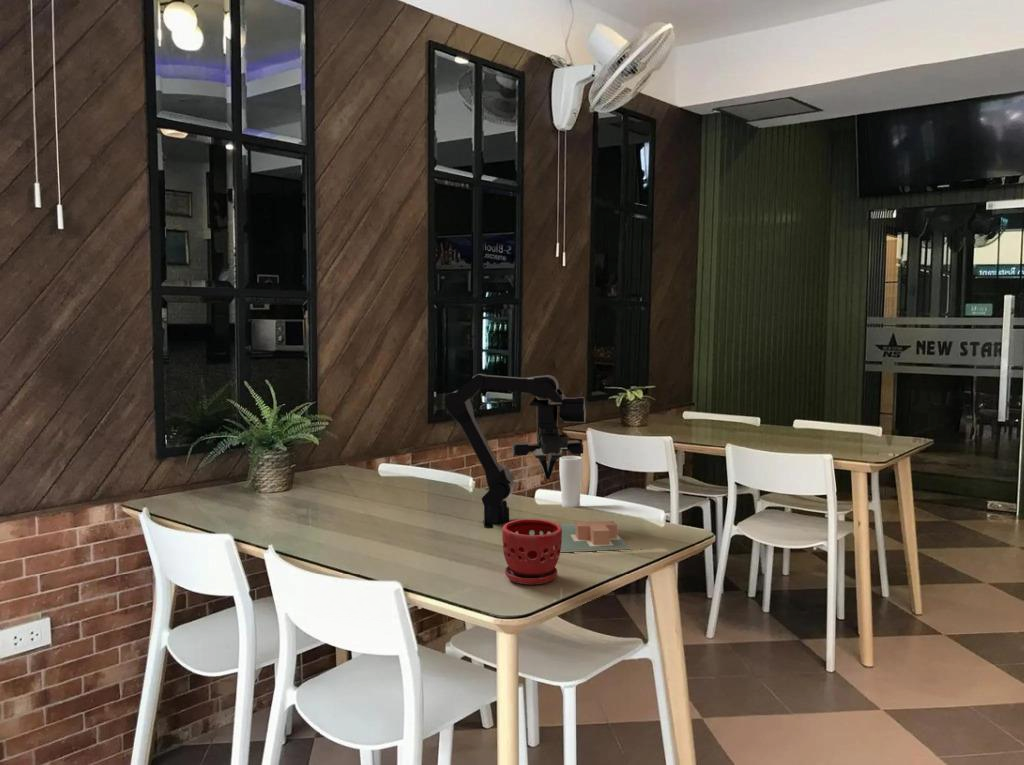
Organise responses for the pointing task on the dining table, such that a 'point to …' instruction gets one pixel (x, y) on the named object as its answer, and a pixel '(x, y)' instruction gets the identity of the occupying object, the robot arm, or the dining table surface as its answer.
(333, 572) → the dining table surface
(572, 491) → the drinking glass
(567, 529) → the board
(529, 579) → the plant pot
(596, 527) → the salmon notched block
